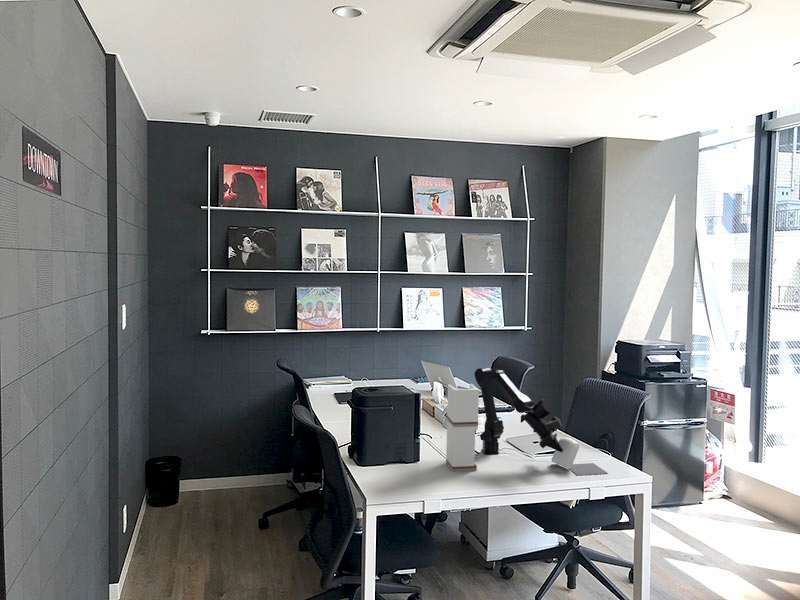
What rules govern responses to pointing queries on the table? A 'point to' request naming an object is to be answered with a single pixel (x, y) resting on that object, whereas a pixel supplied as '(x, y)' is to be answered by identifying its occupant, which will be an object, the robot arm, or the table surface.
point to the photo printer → (566, 453)
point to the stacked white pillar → (462, 428)
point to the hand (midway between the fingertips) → (562, 451)
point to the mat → (587, 469)
